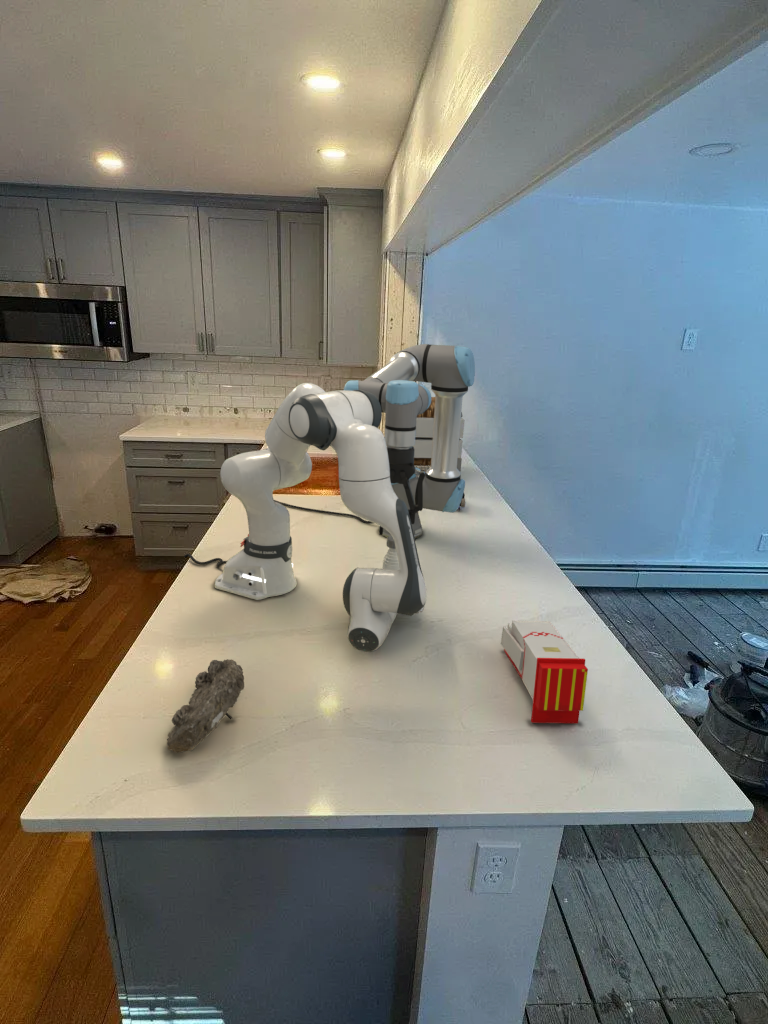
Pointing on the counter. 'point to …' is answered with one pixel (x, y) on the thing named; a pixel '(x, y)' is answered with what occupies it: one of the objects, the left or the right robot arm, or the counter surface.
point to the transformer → (430, 437)
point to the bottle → (391, 560)
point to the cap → (391, 542)
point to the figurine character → (462, 502)
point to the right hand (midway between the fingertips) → (394, 534)
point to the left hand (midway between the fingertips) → (392, 582)
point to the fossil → (206, 705)
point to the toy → (547, 670)
